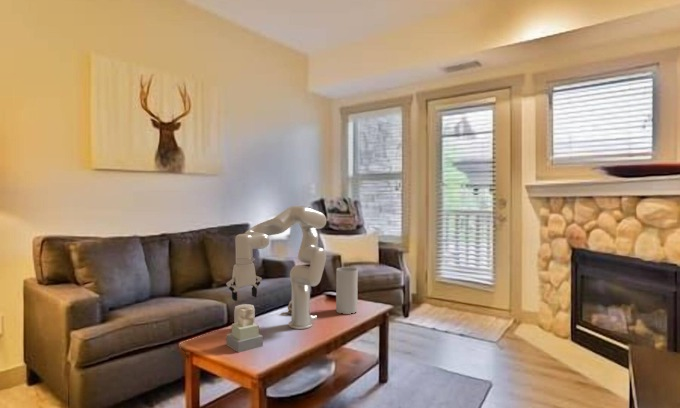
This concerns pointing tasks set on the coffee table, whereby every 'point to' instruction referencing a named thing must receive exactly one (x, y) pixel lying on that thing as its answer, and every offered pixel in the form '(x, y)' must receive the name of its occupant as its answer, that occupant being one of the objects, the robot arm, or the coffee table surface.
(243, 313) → the ash block
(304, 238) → the robot arm
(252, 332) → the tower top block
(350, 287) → the cylinder vase
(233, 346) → the tower bottom block
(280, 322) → the coffee table surface
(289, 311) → the decorative ornament
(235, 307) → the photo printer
